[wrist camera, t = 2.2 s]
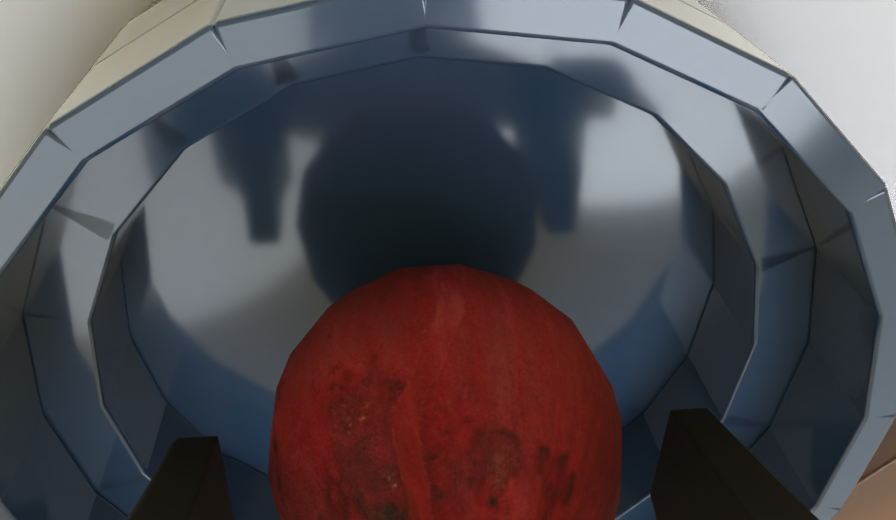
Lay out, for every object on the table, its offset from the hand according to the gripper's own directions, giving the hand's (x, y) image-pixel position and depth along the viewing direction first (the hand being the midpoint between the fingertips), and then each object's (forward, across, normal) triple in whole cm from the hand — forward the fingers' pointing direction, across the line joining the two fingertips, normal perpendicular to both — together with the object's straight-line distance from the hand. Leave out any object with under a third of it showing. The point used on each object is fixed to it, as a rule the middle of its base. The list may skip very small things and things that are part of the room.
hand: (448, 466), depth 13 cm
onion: (+4, 0, 0) cm, 5 cm away
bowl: (+5, 0, 0) cm, 5 cm away
